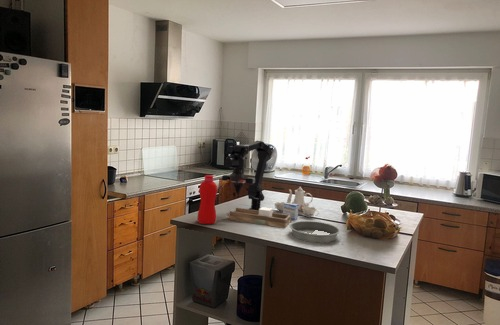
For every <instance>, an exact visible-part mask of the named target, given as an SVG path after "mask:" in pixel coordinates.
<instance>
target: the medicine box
mask: <svg viewBox="0 0 500 325" xmlns="http://www.w3.org/2000/svg"><path fill="white" fill-rule="evenodd" d="M298 208H299V205H298V204H293V203H287V201H286V202H284V205H283V213H282V214H285V215H291V221H296V220H298V218H299V214H298Z"/></svg>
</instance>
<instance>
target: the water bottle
mask: <svg viewBox="0 0 500 325" xmlns="http://www.w3.org/2000/svg"><path fill="white" fill-rule="evenodd" d="M198 192H199V197H200V204H199V208H198V211H197V212H198V213H197V222H198V223H199V224H202V225H213V224H215V223H216V221H217V213H216V212H217V211H216V207H215V206H216V205H215V204H216V199H217V194H218V185H217V183H215V182H214V175H210V174H206V175H204V181H202V182H201V183H200V185H199V189H198Z"/></svg>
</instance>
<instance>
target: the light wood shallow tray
mask: <svg viewBox="0 0 500 325" xmlns="http://www.w3.org/2000/svg"><path fill="white" fill-rule="evenodd" d="M228 213H229V214H228V217H227V218H228V220H230V221H236V222H237V221H238V222H243V223H244V222H245V223H251V224H257V225H262V226H271V227H277V228H282V229H284V228H285V229H286V228H287V227H288V226H289V225H290V224H291V222H292V220H291V215H285V214H283V213H279V212H278V213H276V212H272V217H267V216H260V215H259V211H257V210H250V209H247V208H242V207H236V208H235V211H233V210H232V211H231V210H229V212H228Z"/></svg>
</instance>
